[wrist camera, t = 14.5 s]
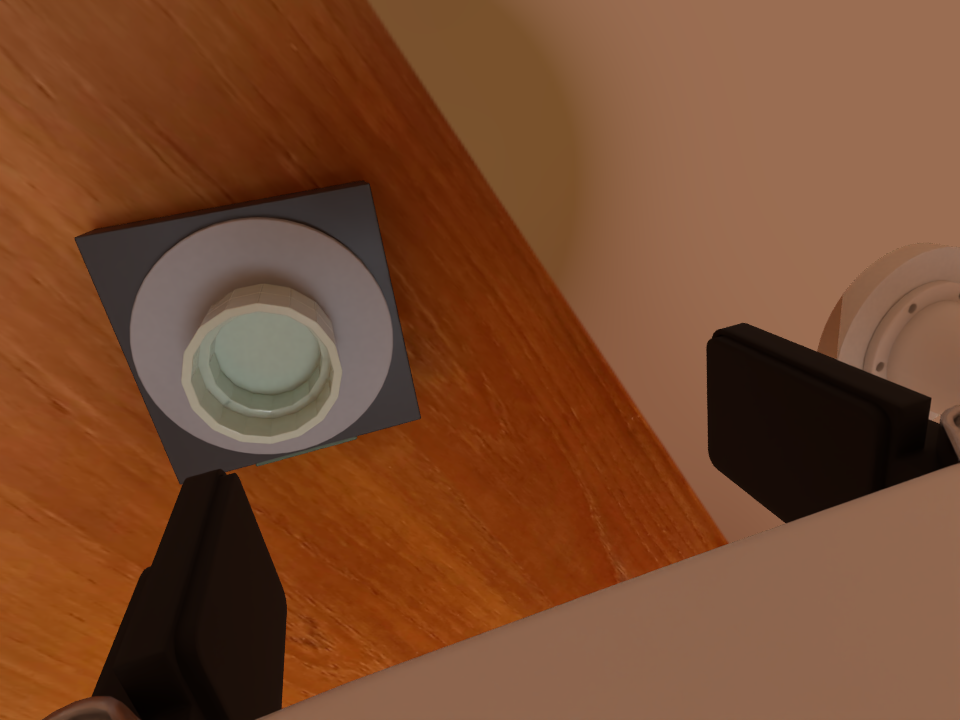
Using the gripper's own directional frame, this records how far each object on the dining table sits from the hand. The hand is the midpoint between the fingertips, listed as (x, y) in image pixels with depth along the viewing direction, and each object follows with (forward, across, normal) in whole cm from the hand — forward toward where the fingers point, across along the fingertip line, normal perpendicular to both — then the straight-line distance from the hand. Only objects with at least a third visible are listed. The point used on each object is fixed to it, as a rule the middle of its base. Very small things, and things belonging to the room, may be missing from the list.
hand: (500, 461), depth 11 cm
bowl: (+21, +7, +3) cm, 23 cm away
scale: (+25, +7, +3) cm, 26 cm away
